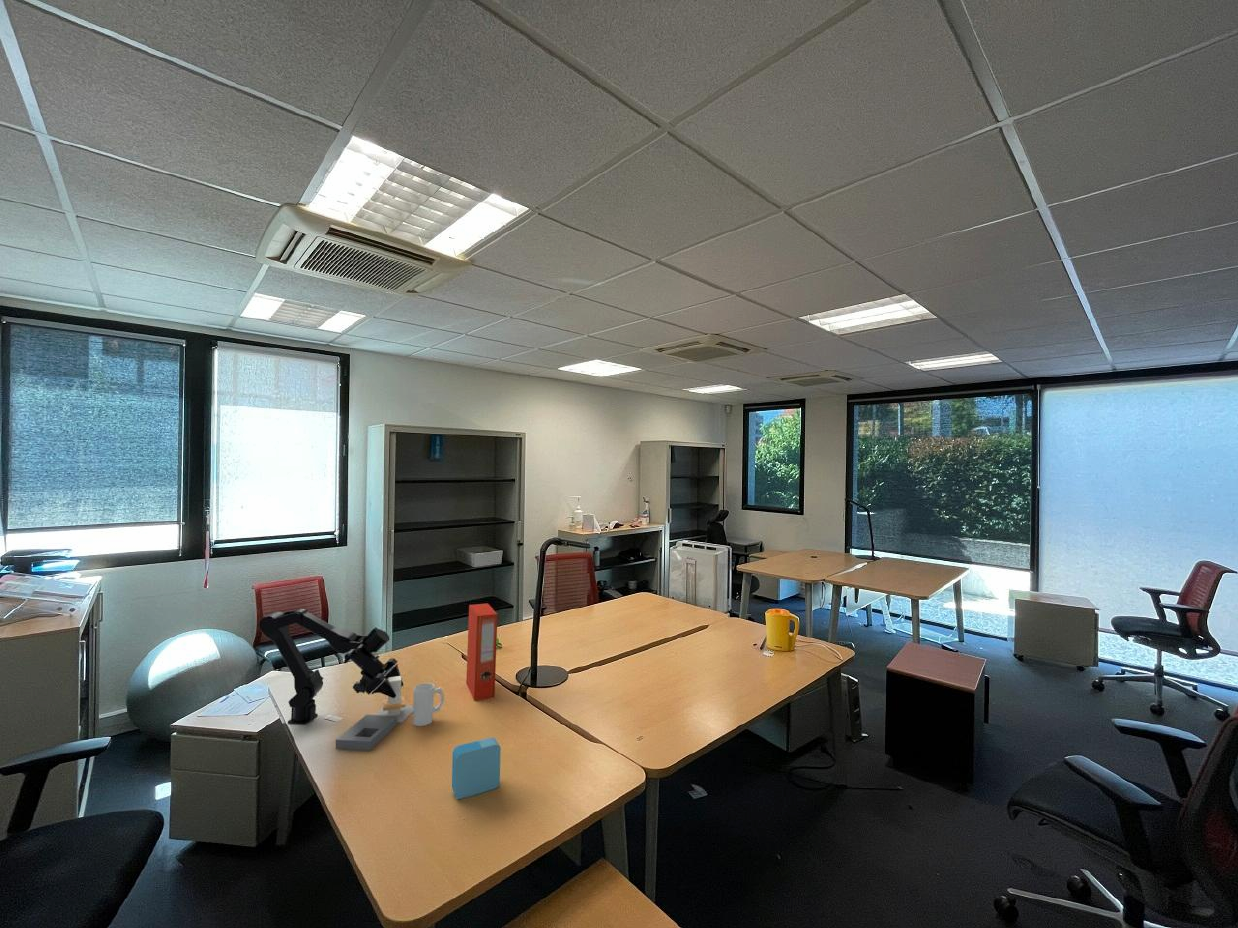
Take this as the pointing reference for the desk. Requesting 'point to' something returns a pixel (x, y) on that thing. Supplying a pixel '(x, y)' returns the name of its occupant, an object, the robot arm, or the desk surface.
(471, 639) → the file binder
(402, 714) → the mat
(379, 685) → the robot arm
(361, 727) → the gray slab with hole
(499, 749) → the data package
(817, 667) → the desk surface
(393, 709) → the white and tan block
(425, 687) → the mug
